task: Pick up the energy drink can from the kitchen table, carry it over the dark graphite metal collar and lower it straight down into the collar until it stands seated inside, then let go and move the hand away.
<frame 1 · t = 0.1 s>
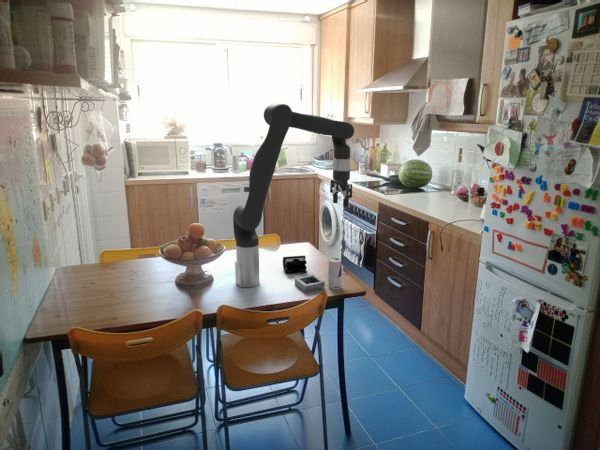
hand: (340, 204, 199), 29 cm above the table, tool pointing down, fingers open, 8 cm apart
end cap: (294, 271, 201), on the table
energy drink: (334, 287, 183), on the table
metal collar: (309, 286, 183), on the table
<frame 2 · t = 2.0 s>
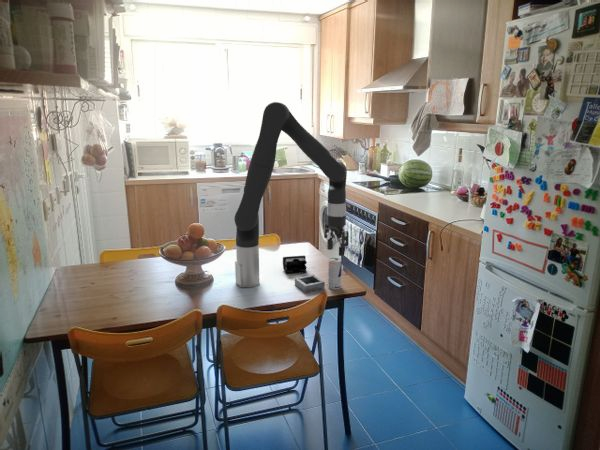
hand: (335, 252, 179), 15 cm above the table, tool pointing down, fingers open, 8 cm apart
nothing on the table moved.
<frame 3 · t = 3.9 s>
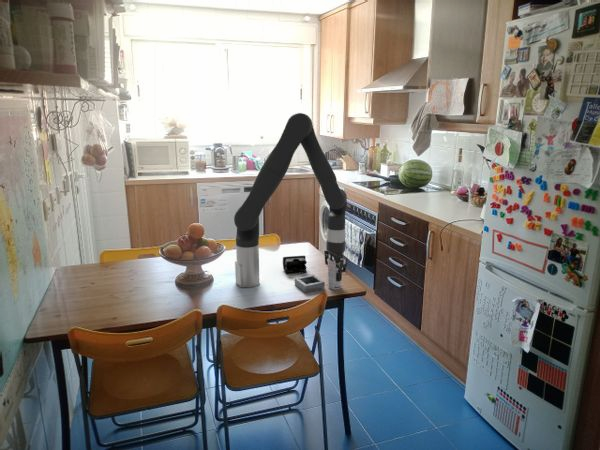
hand: (334, 278, 182), 4 cm above the table, tool pointing down, fingers closed on energy drink, 5 cm apart
energy drink: (334, 287, 183), on the table, touching gripper
everything else where it was.
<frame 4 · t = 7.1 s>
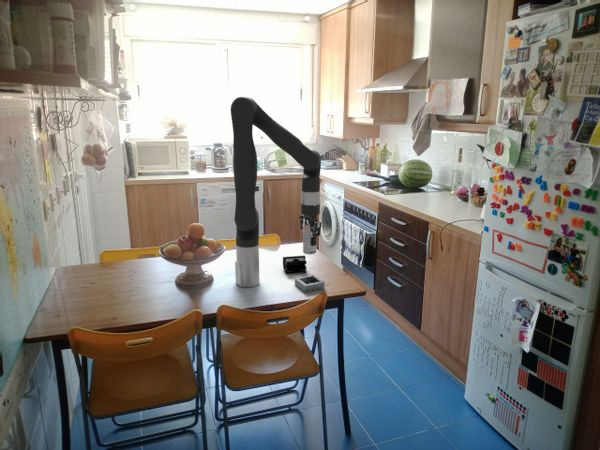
hand: (309, 243, 178), 19 cm above the table, tool pointing down, fingers closed on energy drink, 5 cm apart
energy drink: (309, 253, 179), point 15 cm above the table, touching gripper
everything else where it was.
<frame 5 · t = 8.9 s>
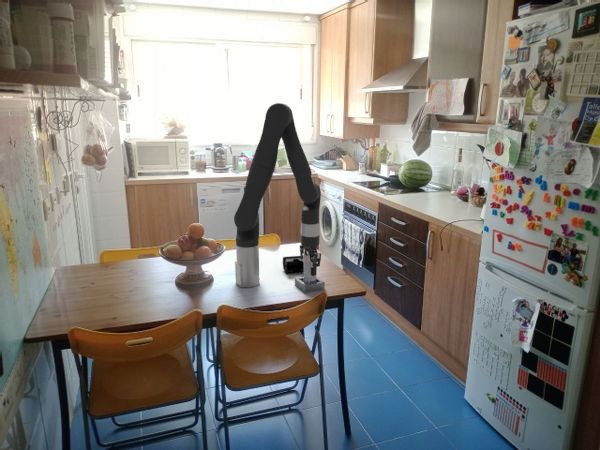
hand: (310, 272, 182), 6 cm above the table, tool pointing down, fingers closed on energy drink, 5 cm apart
energy drink: (310, 282, 183), point 2 cm above the table, touching gripper
everything else where it was.
when the fingers open (5 cm above the table, at t = 10.3 s): energy drink stays where it is, resting in metal collar.
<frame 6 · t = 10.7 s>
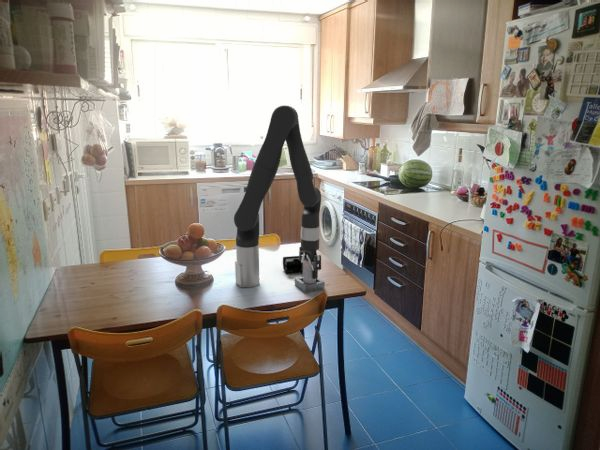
hand: (309, 275, 182), 5 cm above the table, tool pointing down, fingers open, 8 cm apart
energy drink: (309, 287, 183), resting in metal collar
everything else where it was.
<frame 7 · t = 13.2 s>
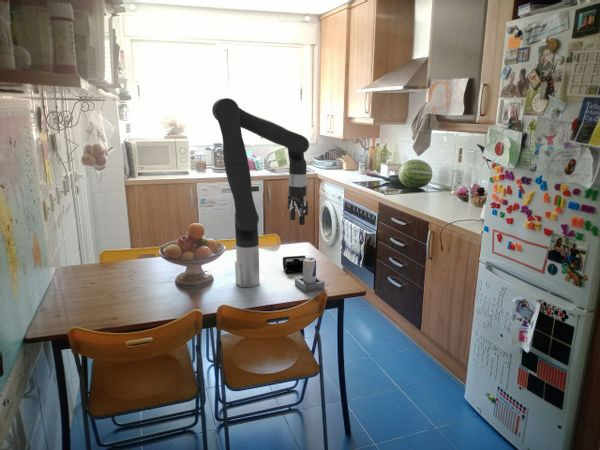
hand: (297, 222, 187), 25 cm above the table, tool pointing down, fingers open, 8 cm apart
nothing on the table moved.
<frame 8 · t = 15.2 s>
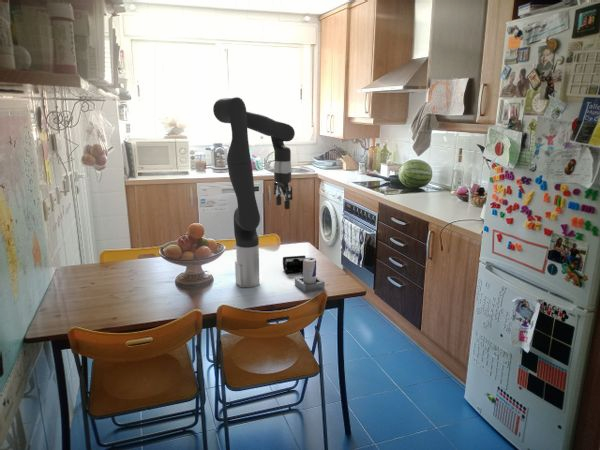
hand: (282, 207, 199), 28 cm above the table, tool pointing down, fingers open, 8 cm apart
nothing on the table moved.
at the end: energy drink 0.1 cm off-centre on the metal collar, point 0.0 cm above the metal collar's base; energy drink tilted 0°; the gripper is holding nothing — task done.
